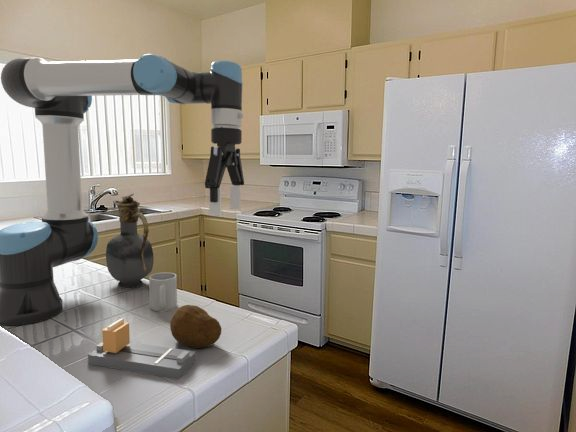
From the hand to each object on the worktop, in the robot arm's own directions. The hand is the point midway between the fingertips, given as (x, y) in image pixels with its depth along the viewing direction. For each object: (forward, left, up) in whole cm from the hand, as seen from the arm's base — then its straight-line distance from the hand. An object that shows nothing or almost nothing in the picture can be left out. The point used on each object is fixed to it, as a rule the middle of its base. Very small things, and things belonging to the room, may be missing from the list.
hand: (226, 212), depth 99 cm
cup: (-18, 0, -28) cm, 34 cm away
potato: (-1, -17, -28) cm, 33 cm away
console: (-7, -27, -28) cm, 39 cm away
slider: (-13, -27, -26) cm, 39 cm away
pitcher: (-37, +14, -28) cm, 49 cm away
